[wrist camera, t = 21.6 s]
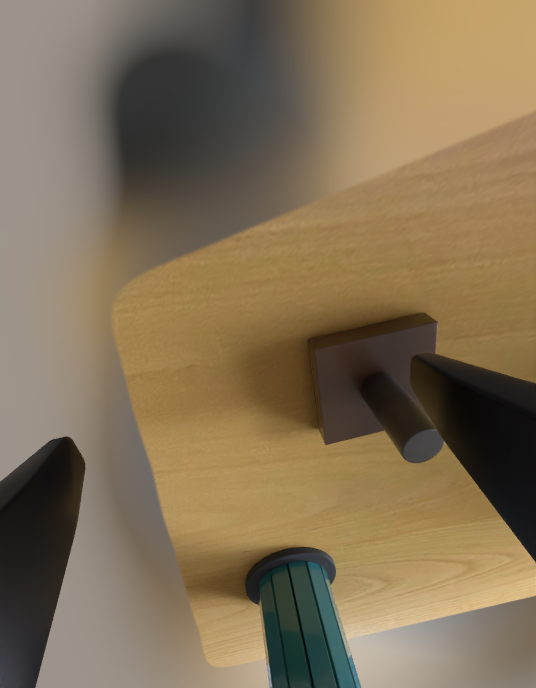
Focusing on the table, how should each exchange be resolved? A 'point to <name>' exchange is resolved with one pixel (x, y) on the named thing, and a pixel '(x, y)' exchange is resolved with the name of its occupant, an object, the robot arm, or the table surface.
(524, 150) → the table surface
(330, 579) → the pad
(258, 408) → the table surface
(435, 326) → the stand
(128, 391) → the table surface
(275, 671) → the slatted teal pen holder
